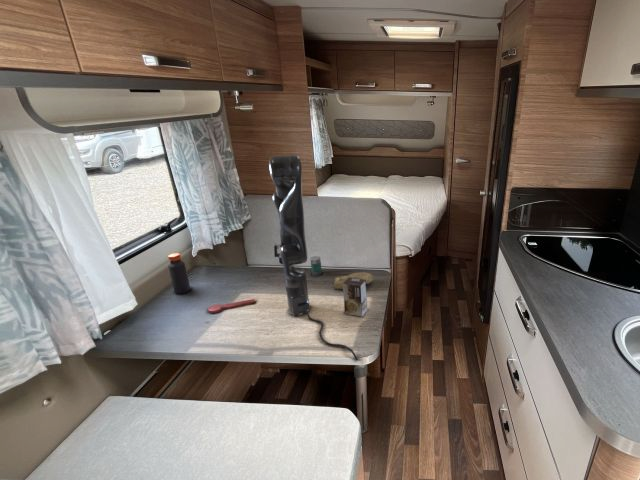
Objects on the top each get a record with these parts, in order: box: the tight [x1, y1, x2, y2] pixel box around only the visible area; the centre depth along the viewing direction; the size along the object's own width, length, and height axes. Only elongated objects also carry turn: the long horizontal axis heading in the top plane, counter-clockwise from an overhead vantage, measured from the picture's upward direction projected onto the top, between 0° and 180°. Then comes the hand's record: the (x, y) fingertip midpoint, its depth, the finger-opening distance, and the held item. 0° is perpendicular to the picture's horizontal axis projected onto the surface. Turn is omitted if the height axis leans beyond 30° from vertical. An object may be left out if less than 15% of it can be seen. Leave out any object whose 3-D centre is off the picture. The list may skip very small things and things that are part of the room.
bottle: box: [167, 252, 191, 295], centre depth 169 cm, size 7×7×20 cm
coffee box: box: [342, 277, 368, 317], centre depth 155 cm, size 9×6×16 cm
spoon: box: [207, 298, 255, 314], centre depth 159 cm, size 6×20×1 cm, turn 115°
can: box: [310, 255, 323, 277], centre depth 191 cm, size 6×6×10 cm
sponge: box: [333, 271, 374, 290], centre depth 179 cm, size 13×8×20 cm
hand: (291, 262), depth 164 cm, fingers open, 8 cm apart
